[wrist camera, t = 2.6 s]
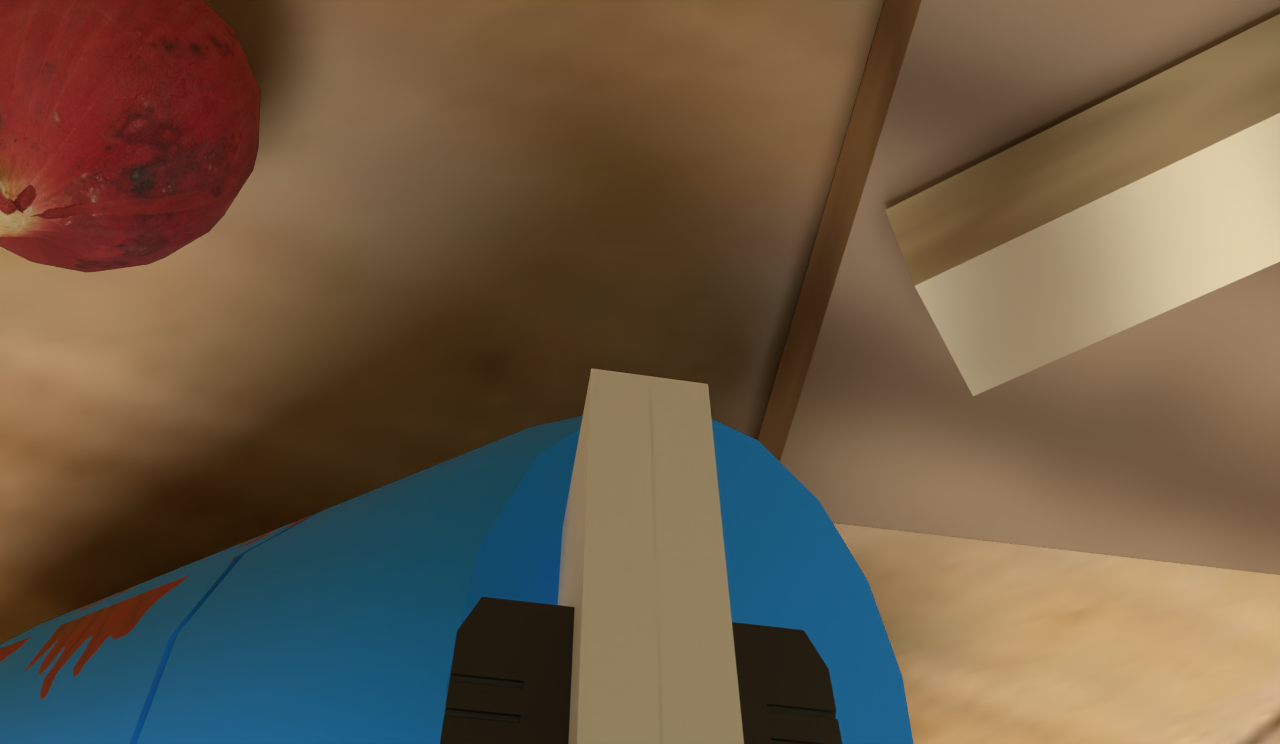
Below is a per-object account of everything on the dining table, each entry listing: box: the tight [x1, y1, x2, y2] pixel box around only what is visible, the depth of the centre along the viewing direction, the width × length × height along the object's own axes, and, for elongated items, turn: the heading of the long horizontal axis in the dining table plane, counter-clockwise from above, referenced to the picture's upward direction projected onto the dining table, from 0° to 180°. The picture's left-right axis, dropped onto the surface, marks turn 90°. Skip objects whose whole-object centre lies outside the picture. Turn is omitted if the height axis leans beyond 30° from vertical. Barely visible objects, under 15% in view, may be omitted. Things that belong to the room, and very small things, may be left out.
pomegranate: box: [0, 0, 261, 272], centre depth 22 cm, size 6×6×8 cm
